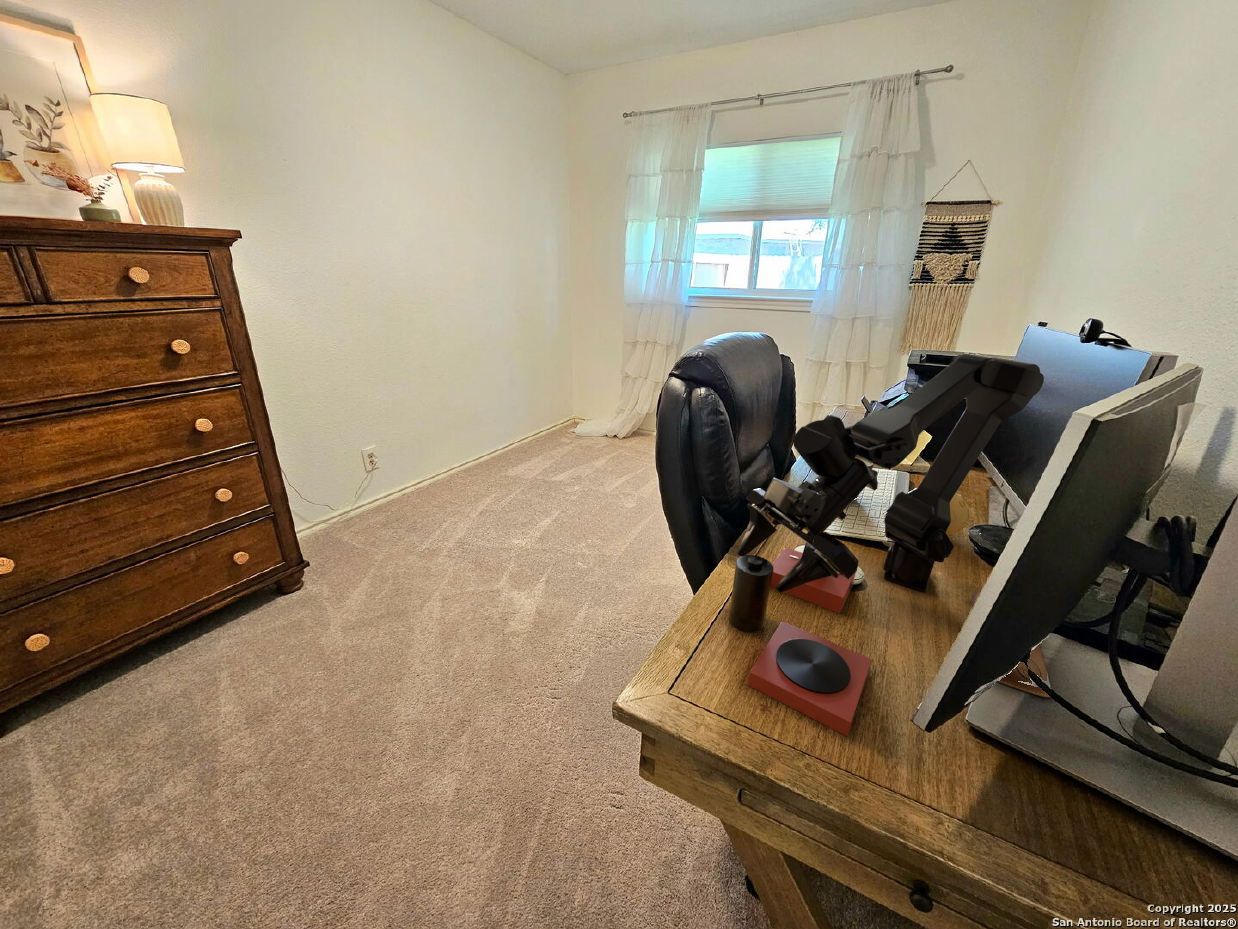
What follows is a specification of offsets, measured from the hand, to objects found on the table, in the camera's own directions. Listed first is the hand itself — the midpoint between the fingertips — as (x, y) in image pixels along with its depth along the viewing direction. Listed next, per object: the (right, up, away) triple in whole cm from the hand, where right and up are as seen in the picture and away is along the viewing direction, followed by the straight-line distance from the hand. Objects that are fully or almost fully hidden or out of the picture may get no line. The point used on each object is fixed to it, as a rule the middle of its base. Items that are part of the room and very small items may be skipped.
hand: (757, 572), depth 70 cm
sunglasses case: (+36, -11, -1) cm, 37 cm away
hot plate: (+5, -12, -7) cm, 15 cm away
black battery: (-1, -8, +3) cm, 9 cm away
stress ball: (+44, +1, +29) cm, 53 cm away
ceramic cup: (+31, +7, +42) cm, 53 cm away
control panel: (+12, -5, +12) cm, 17 cm away
